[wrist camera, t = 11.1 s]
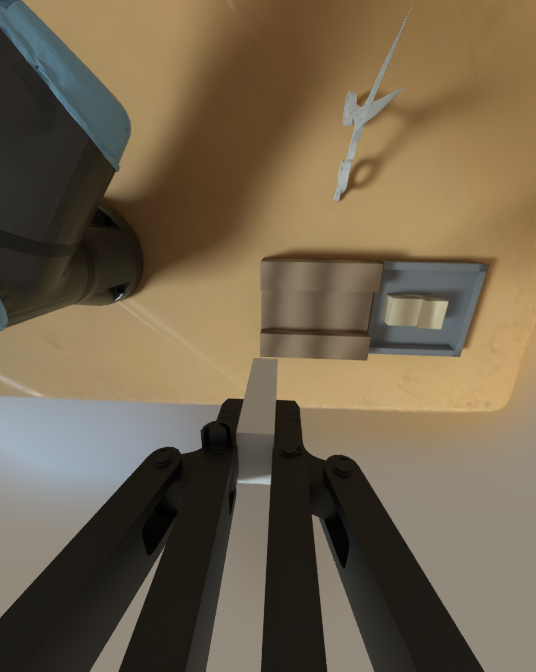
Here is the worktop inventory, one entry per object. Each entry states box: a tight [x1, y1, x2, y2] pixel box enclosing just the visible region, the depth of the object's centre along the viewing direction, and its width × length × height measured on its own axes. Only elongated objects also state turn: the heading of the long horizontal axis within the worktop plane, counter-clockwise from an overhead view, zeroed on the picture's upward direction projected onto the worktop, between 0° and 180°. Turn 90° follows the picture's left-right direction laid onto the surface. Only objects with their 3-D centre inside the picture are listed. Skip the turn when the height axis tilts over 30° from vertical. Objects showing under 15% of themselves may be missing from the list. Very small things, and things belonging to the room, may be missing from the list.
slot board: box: [260, 258, 383, 360], centre depth 39 cm, size 16×14×5 cm
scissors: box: [334, 7, 412, 201], centre depth 25 cm, size 11×1×20 cm, turn 179°
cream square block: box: [381, 294, 422, 326], centre depth 39 cm, size 4×4×3 cm
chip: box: [415, 295, 449, 329], centre depth 39 cm, size 4×4×3 cm
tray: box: [367, 260, 489, 357], centre depth 40 cm, size 14×14×2 cm
